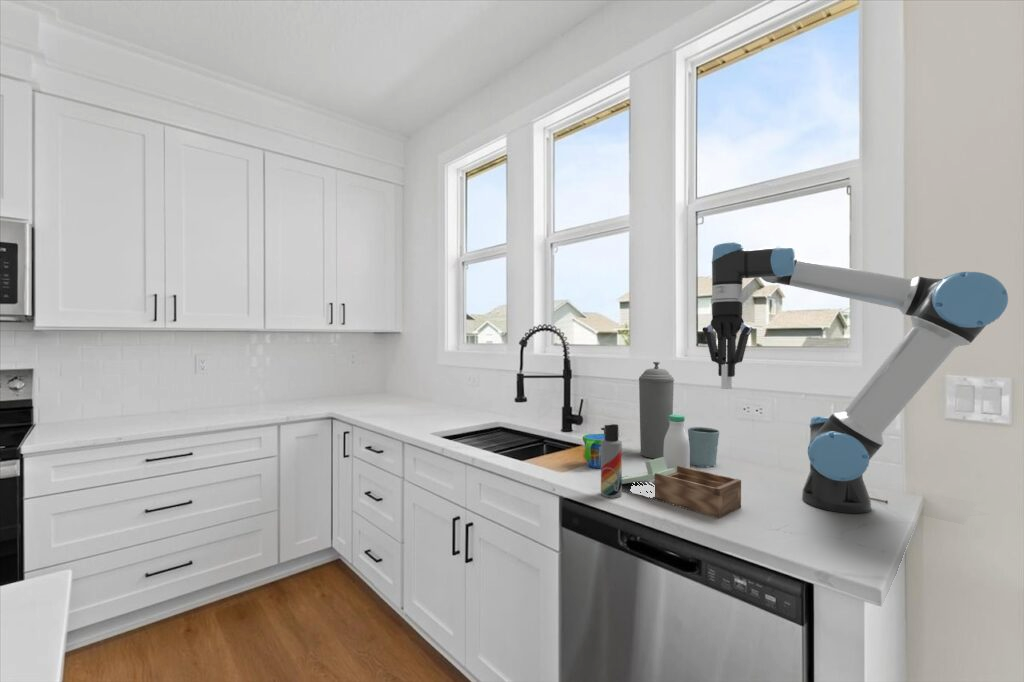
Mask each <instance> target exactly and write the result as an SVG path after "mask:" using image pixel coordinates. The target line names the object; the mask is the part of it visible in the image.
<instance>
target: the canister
mask: <svg viewBox="0 0 1024 682" xmlns="http://www.w3.org/2000/svg"><path fill="white" fill-rule="evenodd" d="M652 363H653V364H654V367H653V368H647V369H646V370H644V371H643V373H641V375H640V376H639V377H638V390H639V392H638V394H639V396H638V397H639V430H640V431H639V434H640V435H639V436H640V438H639V439H640V441H639V442H640V455H641V456H642V457H645V458H649V459H653V460H654V459H657V458H661V457H663V455H664V439H665V436H666V433H667V431H668V429H669V425H670V422H669V415H674V414H673V412H674V389H675V388H674V384H675V383H674V381H675V379H674V377H673V376H672V374H670V372H669V371H668V370H667V369H665V368H664V369H663V368H660V367H659V364H661V362H659V361H653V362H652Z"/></svg>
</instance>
